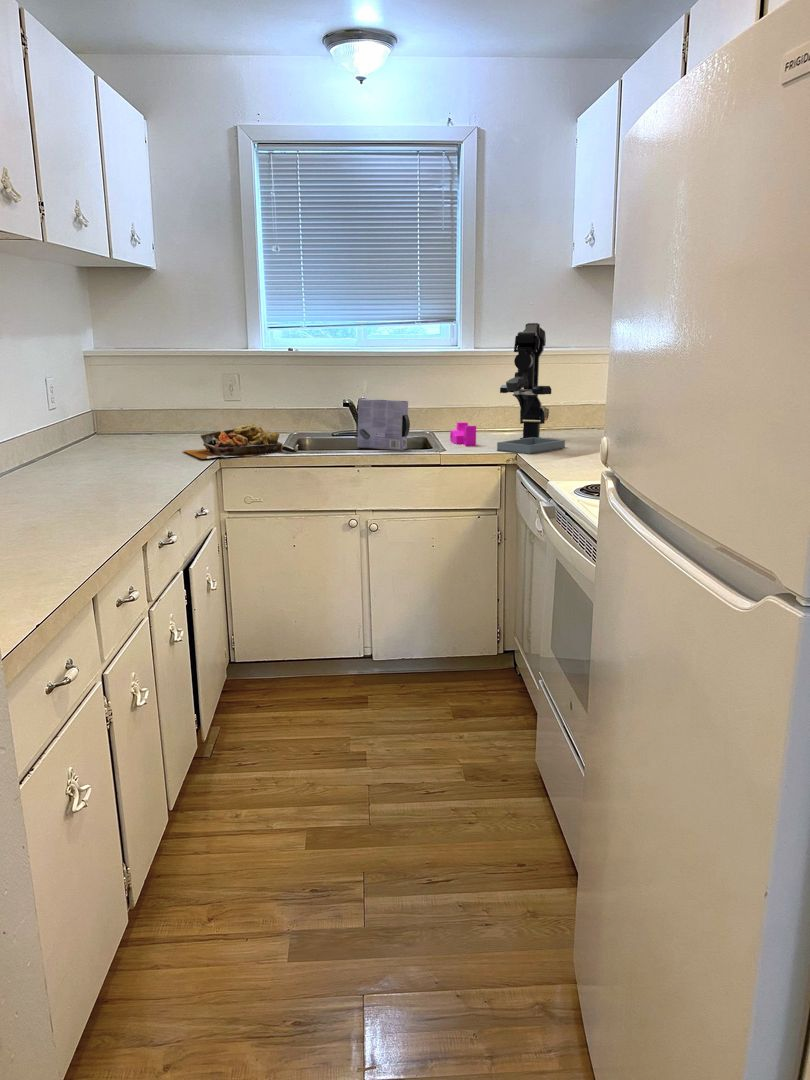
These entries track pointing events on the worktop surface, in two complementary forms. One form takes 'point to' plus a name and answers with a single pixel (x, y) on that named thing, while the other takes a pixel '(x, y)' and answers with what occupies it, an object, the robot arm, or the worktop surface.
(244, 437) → the food tray
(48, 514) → the worktop surface
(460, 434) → the toy block
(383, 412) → the cake pan box
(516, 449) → the tray
